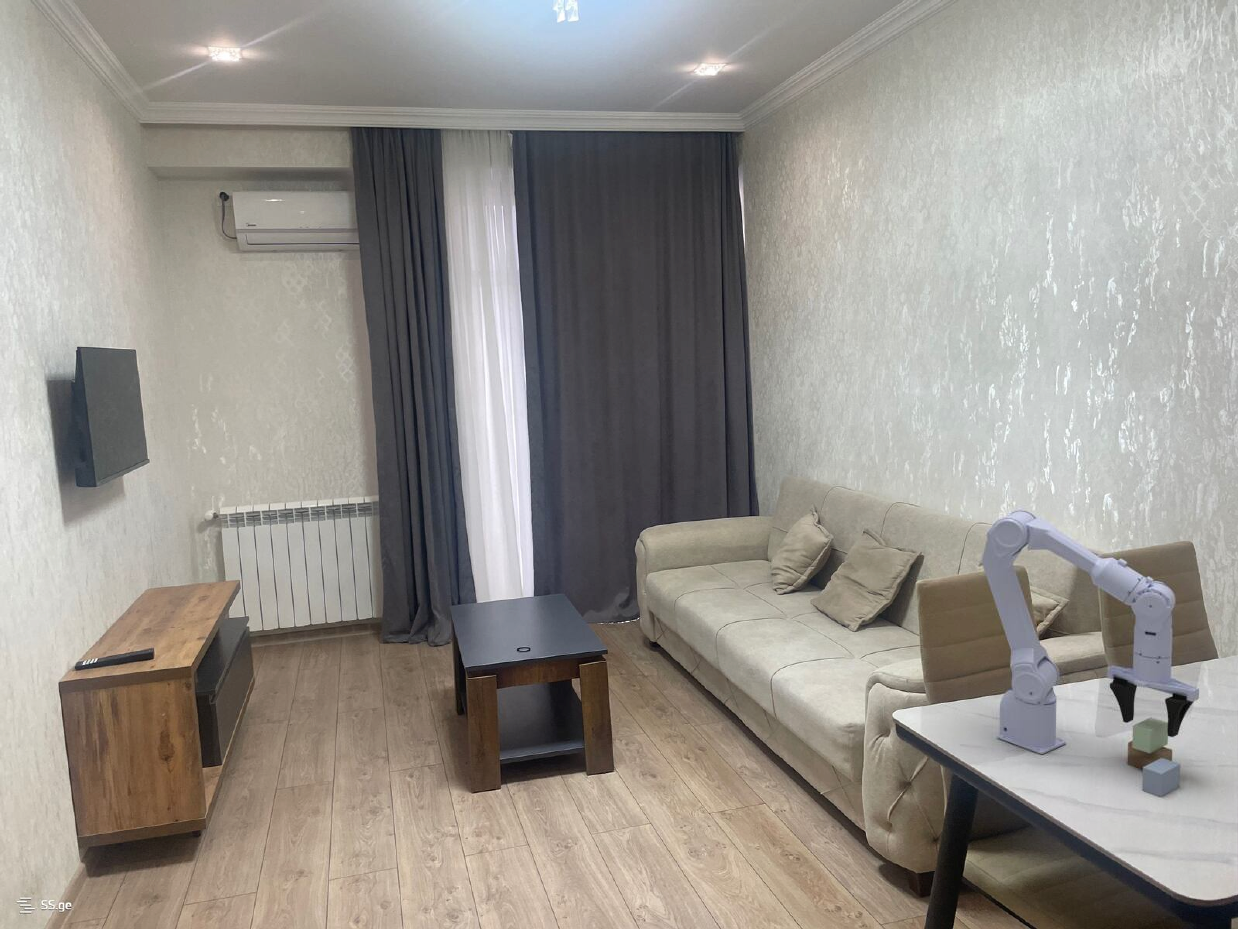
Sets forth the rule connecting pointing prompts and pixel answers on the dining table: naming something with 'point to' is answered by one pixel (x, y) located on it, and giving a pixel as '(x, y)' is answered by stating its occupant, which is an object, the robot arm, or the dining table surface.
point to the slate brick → (1161, 777)
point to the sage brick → (1150, 735)
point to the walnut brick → (1146, 756)
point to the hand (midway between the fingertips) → (1150, 728)
